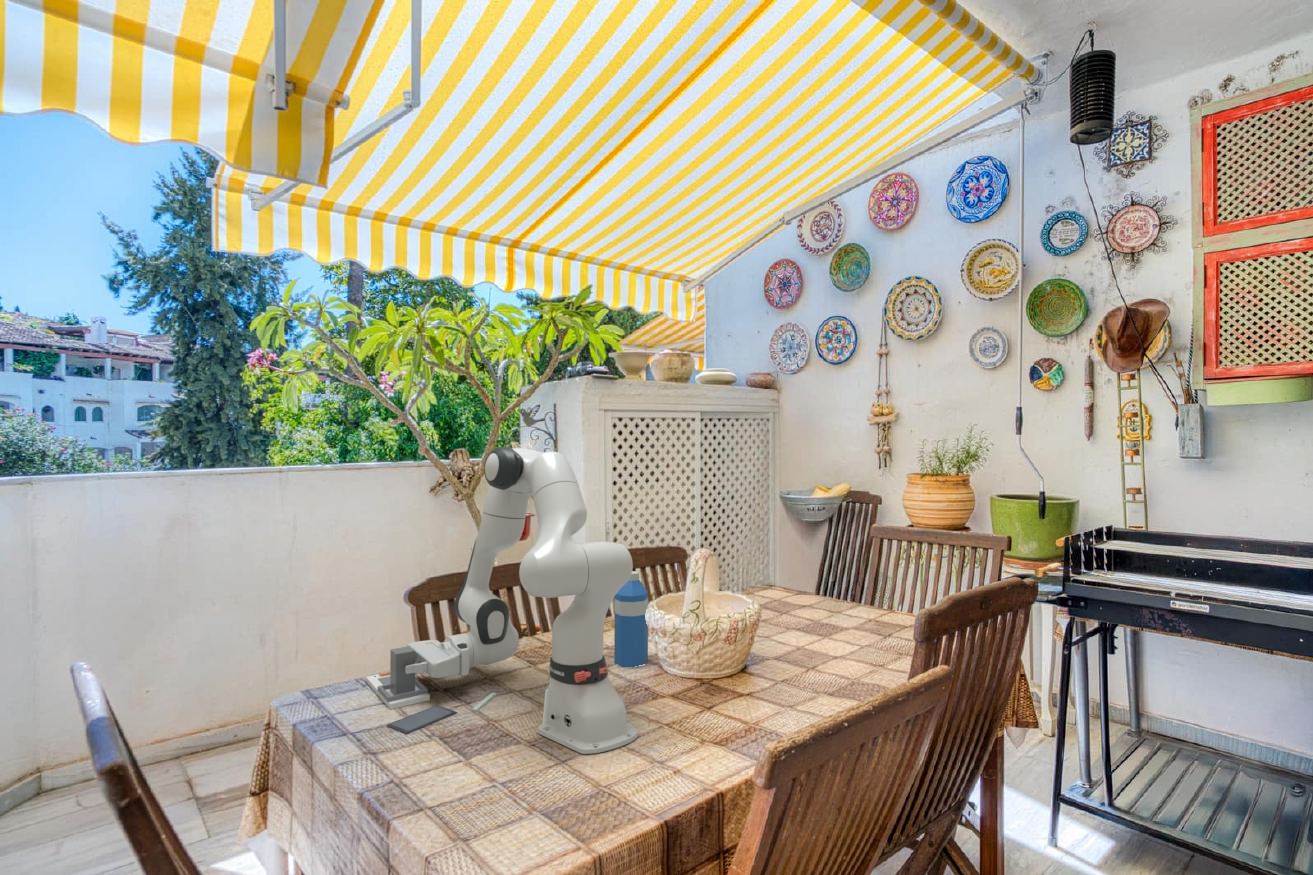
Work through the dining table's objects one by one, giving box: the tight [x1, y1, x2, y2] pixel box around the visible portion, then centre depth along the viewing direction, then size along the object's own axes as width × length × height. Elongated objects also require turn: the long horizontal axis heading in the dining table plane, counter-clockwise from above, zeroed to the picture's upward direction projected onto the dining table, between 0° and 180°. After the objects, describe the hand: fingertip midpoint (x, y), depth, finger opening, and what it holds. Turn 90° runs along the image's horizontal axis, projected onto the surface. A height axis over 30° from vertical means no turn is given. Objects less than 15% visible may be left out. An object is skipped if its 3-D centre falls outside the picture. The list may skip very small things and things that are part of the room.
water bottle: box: [613, 570, 649, 668], centre depth 182 cm, size 9×9×25 cm
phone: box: [386, 704, 458, 735], centre depth 144 cm, size 7×13×1 cm, turn 146°
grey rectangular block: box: [389, 645, 416, 695], centre depth 157 cm, size 4×4×10 cm
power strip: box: [365, 669, 431, 710], centre depth 161 cm, size 22×9×2 cm, turn 37°
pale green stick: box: [471, 692, 497, 713], centre depth 154 cm, size 10×1×1 cm, turn 168°
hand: (398, 664), depth 157 cm, fingers open, 8 cm apart
